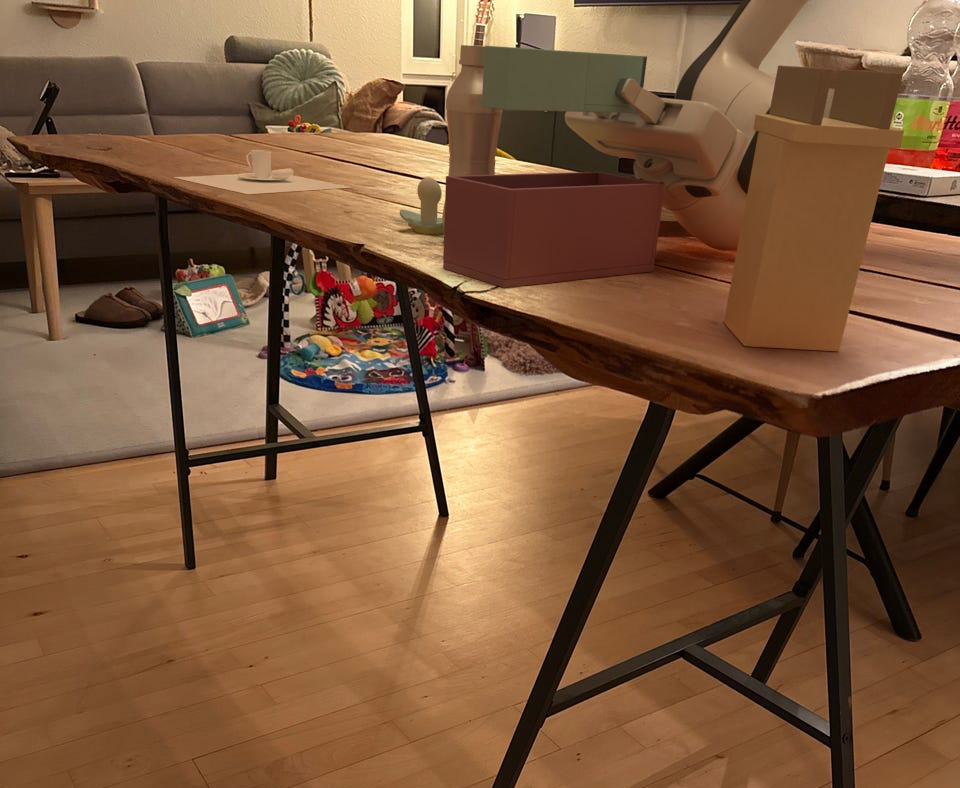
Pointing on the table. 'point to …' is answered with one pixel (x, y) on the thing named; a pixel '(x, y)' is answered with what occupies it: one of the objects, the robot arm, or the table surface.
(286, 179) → the teacup and saucer
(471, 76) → the plastic bottle
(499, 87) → the pale green box
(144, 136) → the table surface
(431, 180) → the pacifier
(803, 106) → the tan trash bin
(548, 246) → the open storage box
